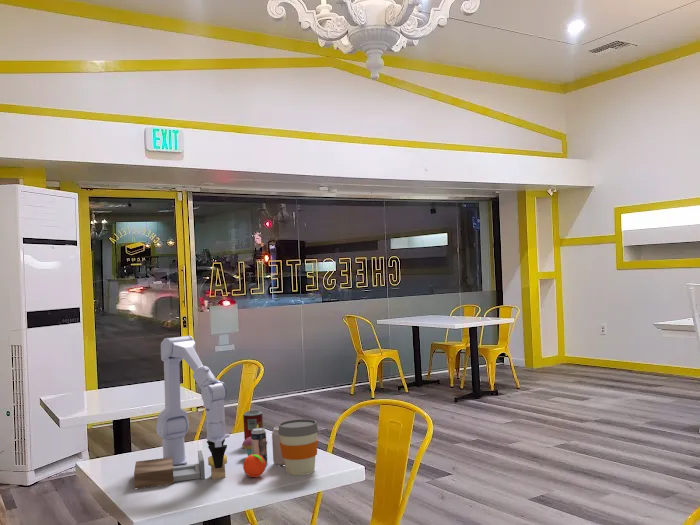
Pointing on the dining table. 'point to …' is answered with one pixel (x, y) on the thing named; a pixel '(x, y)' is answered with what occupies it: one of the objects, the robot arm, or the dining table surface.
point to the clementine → (254, 465)
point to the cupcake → (248, 444)
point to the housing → (153, 472)
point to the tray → (190, 470)
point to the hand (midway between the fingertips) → (217, 465)
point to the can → (277, 448)
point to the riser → (218, 472)
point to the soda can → (252, 422)
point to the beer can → (259, 442)
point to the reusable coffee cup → (299, 445)
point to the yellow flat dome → (211, 463)
